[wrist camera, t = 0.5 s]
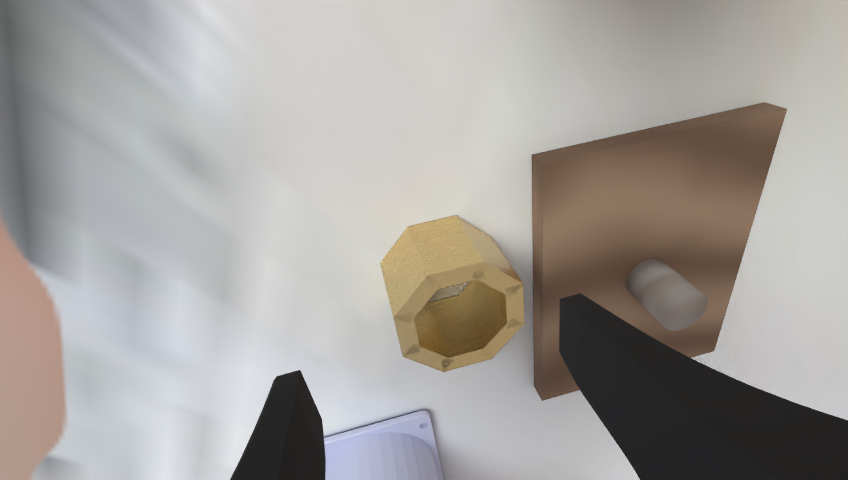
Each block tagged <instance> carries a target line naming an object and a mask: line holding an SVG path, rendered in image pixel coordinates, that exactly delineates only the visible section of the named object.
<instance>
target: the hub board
mask: <svg viewBox="0 0 848 480" xmlns="http://www.w3.org/2000/svg"><path fill="white" fill-rule="evenodd" d="M786 111H787V109H785V108H782V107H779V106H775V105H772V104H768V103H761V104H756V105H752V106H747V107H743V108H738V109H734V110H729V111H725V112H720V113H716V114H711V115H707V116H703V117H698V118H694V119H689V120H685V121H680V122H676V123H671V124H667V125H662V126H658V127H653V128H649V129H645V130H640V131H636V132H631V133H627V134H622V135H618V136H613V137H609V138H604V139H600V140H595V141H591V142H587V143H582V144H578V145H573V146H569V147H564V148H560V149H555V150H551V151H546V152H542V153H537V154H533V155H532V219H533V329H534V387H535V388H536V390H537V392H538V394H539V396H540V398H541V400H542V401H543V400H546V399H550V398H553V397H557V396H560V395H563V394H567V393H570V392H574V391H577V390H580V389H579V387H578V386H577V384H576V383H575V381H574V379H573V377H572V375H571V373H570V372H569V370H568V368H567V366H566V364H565V362H564V360H563V358H562V356H561V354H560V352H559V320H560V299H561V298H565V297H568V296H572V295H576V294H579V293H581V294H583V295H584V296H586V297H587V298H589V299H591V300H592V301H594V302H595V303H597V304H599V305H600V306H602V307H603V308H605V309H606V310H608V311H610V312H611V313H613V314H614V315H616V316H618V317H619V318H621V319H622V320H624V321H626V322H627V323H629V324H631V325H632V326H634V327H636V328H637V329H639V330H641V331H642V332H644V333H646V334H647V335H649V336H651V337H653V338H654V339H656V340H658V341H660V342H661V343H663V344H665V345H667V346H669V347H670V348H672V349H674V350H676V351H678V352H680V353H682V354H684V355H686V356H688V357H690V358H691V357H695V356H698V355H702V354H705V353H709V352H712V351H714V350H715V346H716V343H717V340H718V336H719V333H720V330H721V326H722V323H723V320H724V316H725V313H726V310H727V306H728V303H729V300H730V296H731V293H732V290H733V287H734V283H735V280H736V277H737V273H738V270H739V267H740V263H741V260H742V257H743V253H744V250H745V247H746V243H747V240H748V237H749V233H750V230H751V227H752V224H753V220H754V217H755V214H756V210H757V207H758V204H759V200H760V197H761V194H762V190H763V187H764V184H765V180H766V177H767V174H768V170H769V167H770V164H771V161H772V157H773V154H774V151H775V147H776V144H777V141H778V137H779V134H780V131H781V127H782V124H783V121H784V117H785V114H786Z"/></svg>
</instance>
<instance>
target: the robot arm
mask: <svg viewBox="0 0 848 480" xmlns="http://www.w3.org/2000/svg"><path fill="white" fill-rule="evenodd" d="M559 352H560V354H561V356H562V358H563V360H564V362H565V364H566V366H567V368H568V370H569V372H570V373H571V375H572V377H573V379H574V381H575V383H576V384H577V386H578V387H579V389H580V390H581V392H582V393H583V395H584V396H585V398H586V399H587V401H588V402H589V404H590V405H591V407H592V408H593V409H594V411H595V412H596V414H597V415H598V417H599V418H600V420H601V421H602V422H603V424H604V425H605V427H606V428H607V430H608V431H609V433H610V434H611V435H612V437H613V438H614V440H615V441H616V443H617V444H618V445H619V447H620V448H621V450H622V451H623V453H624V454H625V456H626V457H627V459H628V460H629V462H630V464H631V465H632V467H633V468H634V470H635V471H636V473H637V475H638V477H639V478H640V480H848V420H845V419H841V418H838V417H835V416H832V415H829V414H826V413H823V412H820V411H817V410H814V409H811V408H808V407H805V406H802V405H800V404H797V403H794V402H791V401H789V400H786V399H783V398H781V397H778V396H776V395H773V394H770V393H768V392H765V391H763V390H760V389H757V388H755V387H753V386H750V385H748V384H745V383H743V382H741V381H738V380H736V379H734V378H732V377H730V376H727V375H725V374H723V373H721V372H718V371H716V370H714V369H712V368H710V367H708V366H706V365H703V364H701V363H699V362H697V361H695V360H693V359H691V358H690V357H688V356H686V355H684V354H682V353H680V352H678V351H676V350H674V349H672V348H670V347H669V346H667V345H665V344H663V343H661V342H660V341H658V340H656V339H654V338H653V337H651V336H649V335H647V334H646V333H644V332H642V331H641V330H639V329H637V328H636V327H634V326H632V325H631V324H629V323H627V322H626V321H624V320H622V319H621V318H619V317H618V316H616V315H614V314H613V313H611V312H610V311H608V310H606V309H605V308H603V307H602V306H600V305H599V304H597V303H595V302H594V301H592V300H591V299H589V298H587V297H586V296H584V295H583V294H581V293H579V294H576V295H572V296H568V297H565V298H561V299H560V320H559ZM230 480H444V479H443V474H442V470H441V465H440V460H439V455H438V451H437V446H436V441H435V436H434V432H433V427H432V422H431V418H430V414H429V412H428V411H424V410H422V411H418V412H414V413H411V414H407V415H404V416H400V417H397V418H393V419H390V420H386V421H383V422H379V423H376V424H372V425H368V426H365V427H361V428H358V429H354V430H351V431H347V432H344V433H340V434H337V435H333V436H330V437H326V438H324V435H323V426H322V419H321V416H320V414H319V412H318V409H317V407H316V405H315V403H314V400H313V398H312V396H311V394H310V391H309V389H308V387H307V384H306V382H305V380H304V378H303V375H302V373H301V371H300V370H298V371H295V372H291V373H287V374H284V375H280V376H277V377H276V378H275V380H274V381H273V384H272V387H271V389H270V392H269V394H268V397H267V400H266V402H265V405H264V407H263V410H262V412H261V414H260V417H259V419H258V421H257V424H256V426H255V429H254V431H253V433H252V435H251V437H250V439H249V442H248V444H247V446H246V448H245V450H244V453H243V455H242V457H241V459H240V461H239V463H238V465H237V467H236V469H235V471H234V473H233V475H232V477H231V479H230Z"/></svg>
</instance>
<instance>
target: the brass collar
mask: <svg viewBox="0 0 848 480" xmlns="http://www.w3.org/2000/svg"><path fill="white" fill-rule="evenodd" d="M380 264H381V268H382V272H383V276H384V281H385V285H386V289H387V293H388V297H389V302H390V306H391V310H392V314H393V318H394V322H395V326H396V330H397V334H398V338H399V343H400V347H401V351H402V355H403V357H405V358H408V359H411V360H413V361H416V362H418V363H421V364H424V365H426V366H429V367H432V368H434V369H437V370H440V371H442V372H445V371H449V370H453V369H456V368H460V367H464V366H467V365H471V364H475V363H478V362H482V361H485V360H489V359H492V358H493V357H494V356H495V355H496V354H497V353H498V351H499V350H500V349H501V348H502V347H503V346H504V345H505V344H506V343H507V342H508V341H509V340H510V339H511V338H512V337H513V335H514V334H515V333H516V332H517V331H518V330H519V329H520V328H521V327H522V326H523V325H524V295H523V283H522V281H521V280H520V278H519V277H518V275H517V274H516V273H515V271H514V270H513V268H512V267H511V265H510V264H509V262H508V261H507V259H506V258H505V256H504V255H503V254H502V252H501V251H500V249H499V248H498V246H497V245H496V243H495V242H494V240H493V239H492V237H491V236H489V235H487V234H486V233H484V232H482V231H481V230H479V229H478V228H476V227H474V226H473V225H471V224H469V223H468V222H466V221H464V220H463V219H461V218H459V217H458V216H451V217H447V218H443V219H439V220H434V221H430V222H426V223H422V224H417V225H413V226H409V227H407V229H406V230H405V231H404V233H403V234H402V235H401V237H400V238H399V239H398V241H397V242H396V243H395V245H394V246H393V247H392V249H391V250H390V251H389V253H388V254H387V255H386V257H385V258H384V259H383V261H382V262H381V263H380ZM469 281H470V283H469V284H468V285H467V286H466V287H465V288H464V290H463V291H462V292H461V293H460V294H459V295H457V296H453V297H449V298H445V299H442V300H438V301H434V302H430V303H428V301H429V299H430V298H431V297H432V296H433V295H434V293H435V292H436V291H437V290H438V289H441V288H445V287H449V286H453V285H457V284H461V283H465V282H469Z"/></svg>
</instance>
